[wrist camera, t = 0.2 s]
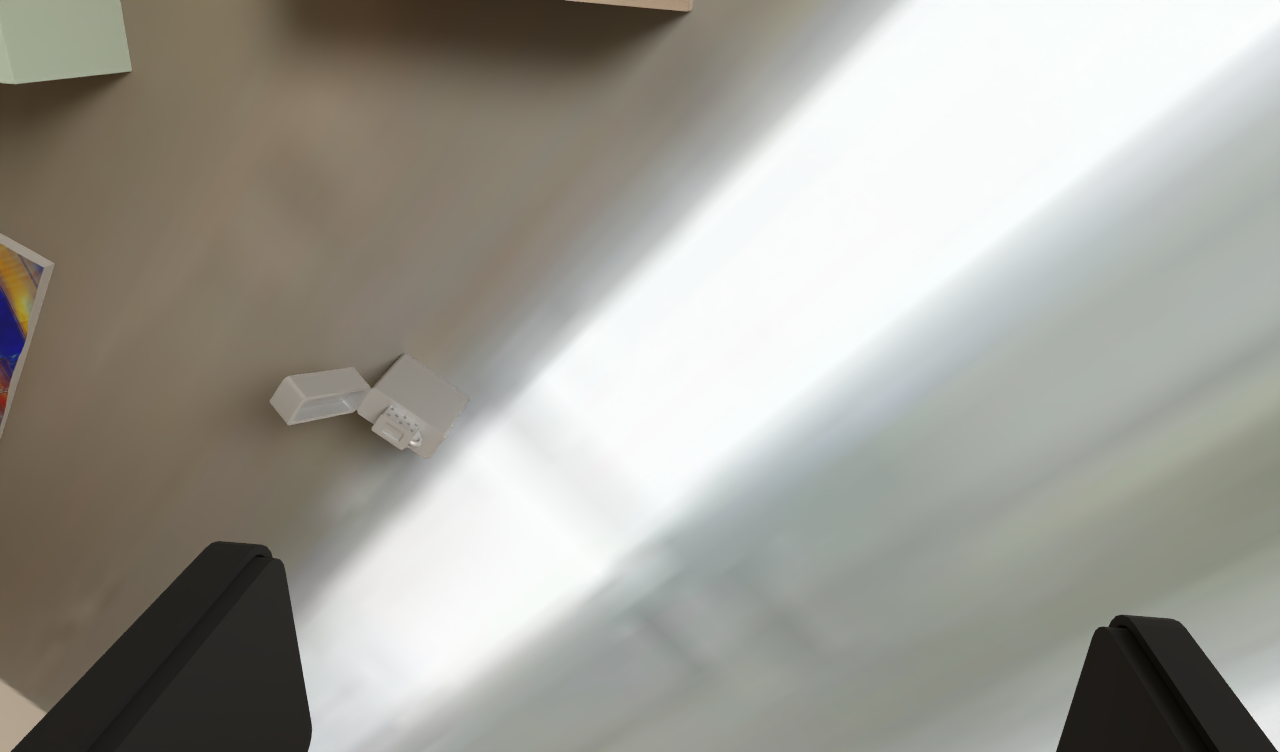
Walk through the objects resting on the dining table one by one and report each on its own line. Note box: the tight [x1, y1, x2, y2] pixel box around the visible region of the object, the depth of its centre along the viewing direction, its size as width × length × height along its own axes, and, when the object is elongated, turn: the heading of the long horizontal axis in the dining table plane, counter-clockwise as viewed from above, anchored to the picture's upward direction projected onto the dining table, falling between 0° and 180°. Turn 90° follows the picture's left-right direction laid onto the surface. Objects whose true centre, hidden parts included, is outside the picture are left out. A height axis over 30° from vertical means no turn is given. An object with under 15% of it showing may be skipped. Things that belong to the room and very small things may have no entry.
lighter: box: [269, 354, 469, 459], centre depth 40 cm, size 7×2×8 cm, turn 53°
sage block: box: [0, 0, 132, 84], centre depth 34 cm, size 5×5×7 cm
